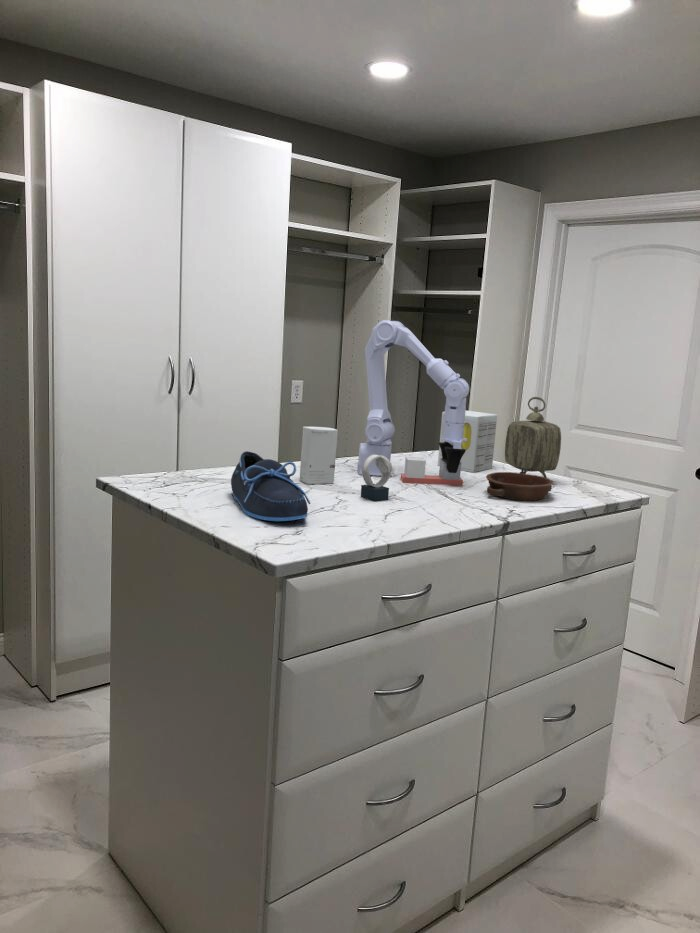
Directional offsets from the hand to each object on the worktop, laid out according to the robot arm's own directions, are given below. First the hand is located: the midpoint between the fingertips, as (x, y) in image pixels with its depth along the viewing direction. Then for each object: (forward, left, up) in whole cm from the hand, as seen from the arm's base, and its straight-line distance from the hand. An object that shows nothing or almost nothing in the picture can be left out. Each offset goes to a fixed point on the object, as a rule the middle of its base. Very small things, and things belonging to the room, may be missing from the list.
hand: (449, 470), depth 215 cm
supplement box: (+11, +27, -4) cm, 29 cm away
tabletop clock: (+26, +9, -4) cm, 27 cm away
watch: (-23, -24, -4) cm, 34 cm away
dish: (+17, -12, -4) cm, 21 cm away
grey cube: (0, 0, -2) cm, 2 cm away
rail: (-5, 0, -4) cm, 6 cm away
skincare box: (-37, -7, -4) cm, 38 cm away
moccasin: (-50, -38, -4) cm, 63 cm away
